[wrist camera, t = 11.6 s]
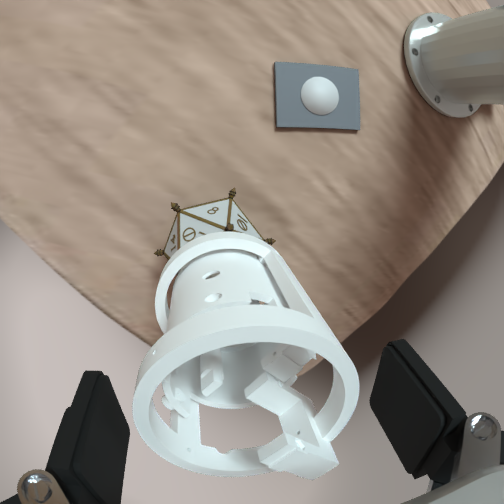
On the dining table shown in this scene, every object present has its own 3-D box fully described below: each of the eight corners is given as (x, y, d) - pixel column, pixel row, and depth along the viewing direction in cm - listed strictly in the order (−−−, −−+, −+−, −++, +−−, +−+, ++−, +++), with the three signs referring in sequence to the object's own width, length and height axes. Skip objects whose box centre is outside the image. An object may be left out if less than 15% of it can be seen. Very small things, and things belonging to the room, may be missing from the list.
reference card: (356, 70, 26) (358, 69, 25) (358, 129, 28) (360, 129, 27) (274, 62, 25) (275, 61, 24) (276, 127, 27) (277, 126, 26)
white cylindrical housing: (222, 323, 23) (256, 513, 9) (145, 264, 21) (86, 452, 7) (291, 255, 22) (410, 414, 8) (216, 185, 20) (256, 294, 6)
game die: (193, 233, 33) (119, 274, 25) (224, 162, 28) (141, 186, 20) (262, 288, 31) (201, 349, 23) (307, 220, 26) (248, 272, 18)
